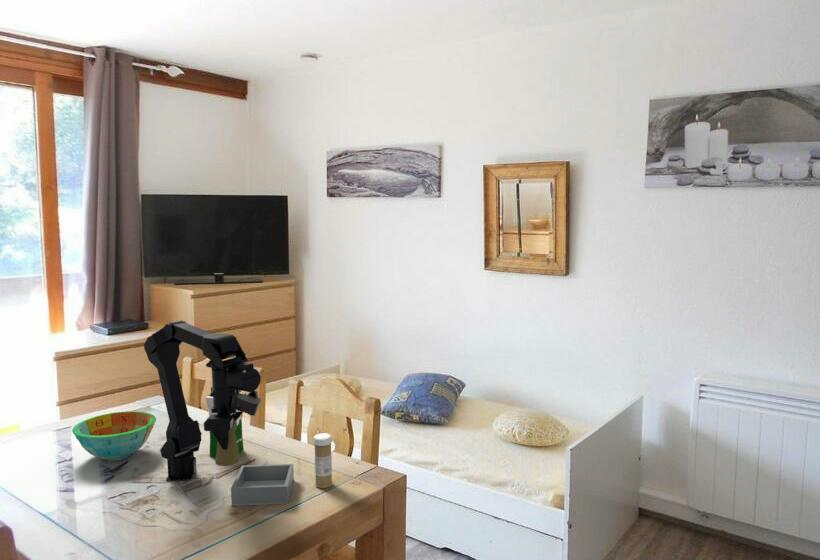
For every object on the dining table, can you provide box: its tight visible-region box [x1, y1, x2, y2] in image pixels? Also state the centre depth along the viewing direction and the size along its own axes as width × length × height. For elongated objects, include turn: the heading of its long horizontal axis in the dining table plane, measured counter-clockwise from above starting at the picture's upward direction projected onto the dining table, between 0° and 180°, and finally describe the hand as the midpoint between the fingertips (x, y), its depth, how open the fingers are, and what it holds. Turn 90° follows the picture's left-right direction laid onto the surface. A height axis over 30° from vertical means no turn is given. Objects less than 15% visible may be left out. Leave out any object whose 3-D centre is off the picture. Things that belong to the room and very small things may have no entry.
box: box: [230, 463, 295, 507], centre depth 162 cm, size 14×14×4 cm
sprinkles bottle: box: [313, 432, 333, 489], centre depth 166 cm, size 5×5×13 cm
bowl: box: [71, 410, 157, 462], centre depth 186 cm, size 22×22×10 cm
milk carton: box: [204, 386, 245, 458], centre depth 187 cm, size 9×9×20 cm
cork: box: [215, 419, 241, 467], centre depth 160 cm, size 6×6×11 cm
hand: (227, 446), depth 160 cm, fingers closed on cork, 4 cm apart
